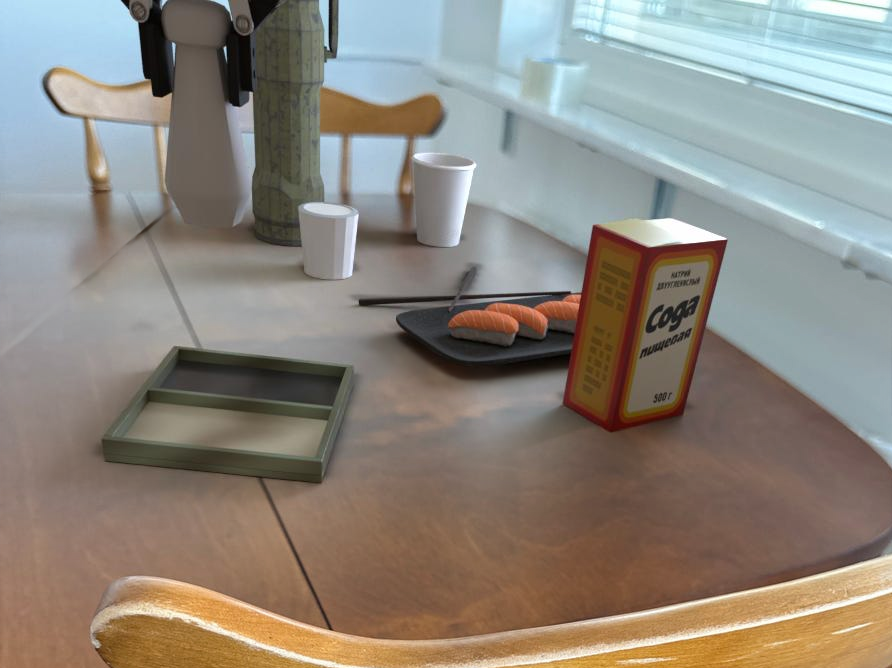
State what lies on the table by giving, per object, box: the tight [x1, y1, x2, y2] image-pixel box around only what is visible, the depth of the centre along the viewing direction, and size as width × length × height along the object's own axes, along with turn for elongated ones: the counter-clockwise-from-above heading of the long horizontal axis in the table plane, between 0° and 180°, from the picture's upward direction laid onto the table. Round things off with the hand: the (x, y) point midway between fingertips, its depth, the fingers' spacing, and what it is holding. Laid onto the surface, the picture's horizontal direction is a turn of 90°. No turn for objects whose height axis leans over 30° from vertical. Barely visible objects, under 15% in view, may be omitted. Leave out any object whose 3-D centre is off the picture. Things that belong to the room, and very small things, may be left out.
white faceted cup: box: [298, 201, 360, 281], centre depth 107 cm, size 7×7×7 cm
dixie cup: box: [410, 151, 477, 248], centre depth 122 cm, size 8×8×10 cm
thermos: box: [251, 0, 340, 247], centre depth 108 cm, size 9×12×35 cm
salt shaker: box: [161, 0, 252, 229], centre depth 62 cm, size 6×6×13 cm
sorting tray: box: [100, 345, 355, 484], centre depth 76 cm, size 16×19×2 cm
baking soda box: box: [562, 217, 729, 433], centre depth 81 cm, size 10×6×16 cm
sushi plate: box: [358, 266, 582, 367], centre depth 102 cm, size 29×30×4 cm
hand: (202, 95), depth 61 cm, fingers closed on salt shaker, 4 cm apart
